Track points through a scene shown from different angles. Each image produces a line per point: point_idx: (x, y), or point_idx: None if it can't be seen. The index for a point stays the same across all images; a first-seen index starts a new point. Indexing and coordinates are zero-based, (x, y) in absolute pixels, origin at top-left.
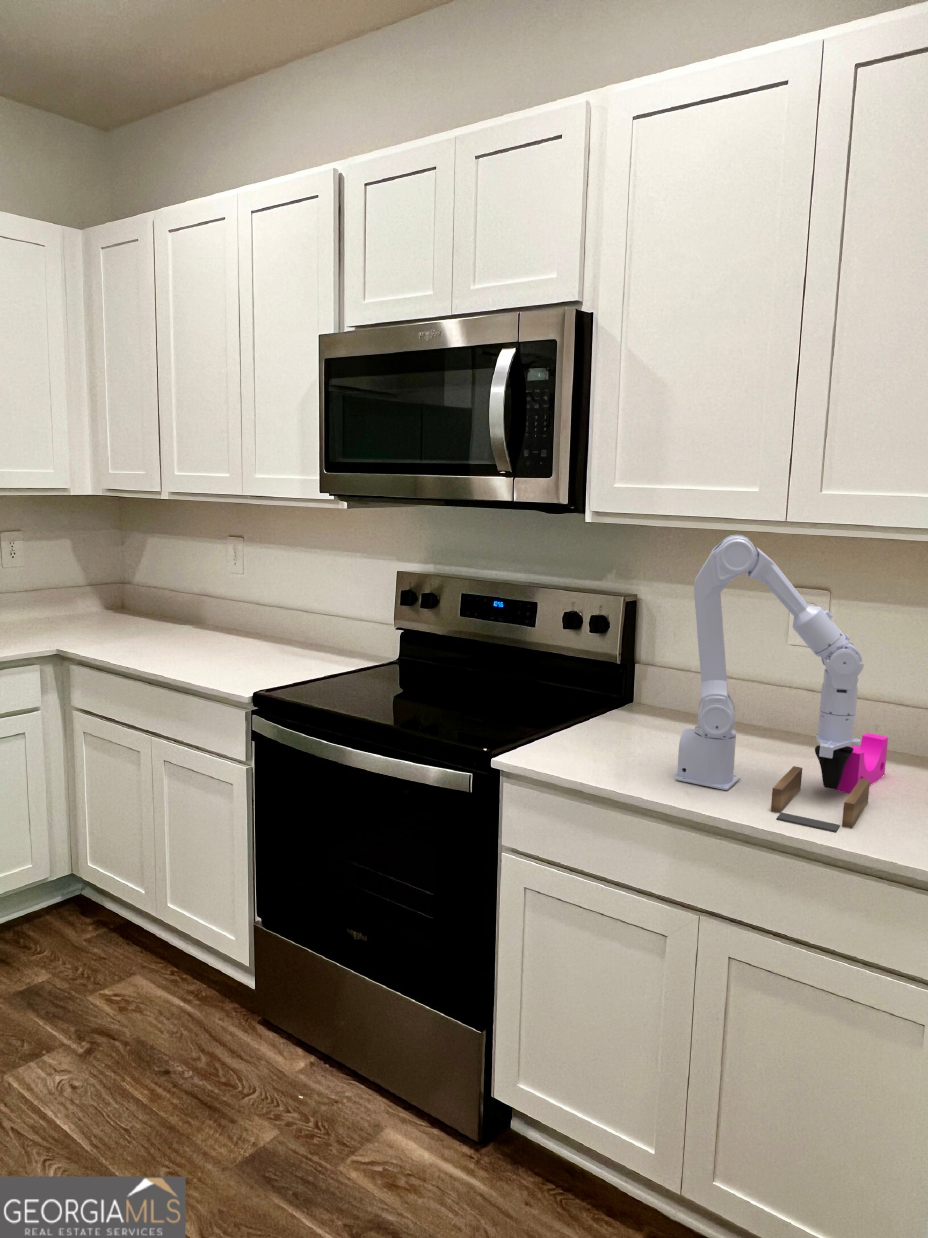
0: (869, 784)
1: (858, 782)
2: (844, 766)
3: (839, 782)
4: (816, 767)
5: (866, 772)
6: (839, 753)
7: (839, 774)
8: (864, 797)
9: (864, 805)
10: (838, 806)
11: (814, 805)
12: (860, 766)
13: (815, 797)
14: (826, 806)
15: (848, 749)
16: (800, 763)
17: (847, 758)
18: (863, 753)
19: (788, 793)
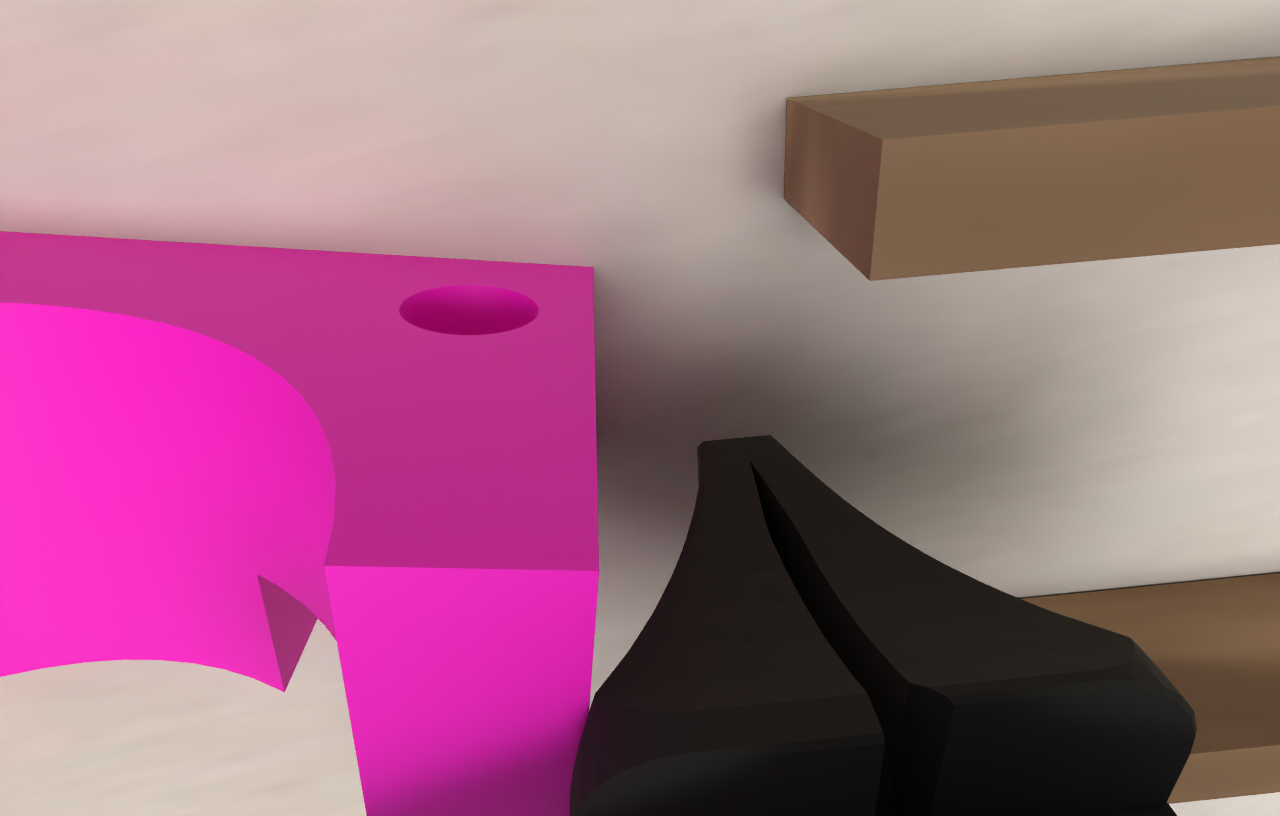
0: (874, 128)
1: (1082, 253)
2: (716, 564)
3: (733, 461)
4: (108, 705)
5: (240, 325)
6: (1087, 805)
7: (869, 520)
8: (1177, 87)
9: (1034, 82)
10: (1037, 305)
11: (1098, 455)
12: (527, 413)
13: (890, 504)
14: (1083, 381)
15: (821, 799)
16: (135, 791)
17: (1006, 642)
18: (376, 545)
19: (1235, 651)
